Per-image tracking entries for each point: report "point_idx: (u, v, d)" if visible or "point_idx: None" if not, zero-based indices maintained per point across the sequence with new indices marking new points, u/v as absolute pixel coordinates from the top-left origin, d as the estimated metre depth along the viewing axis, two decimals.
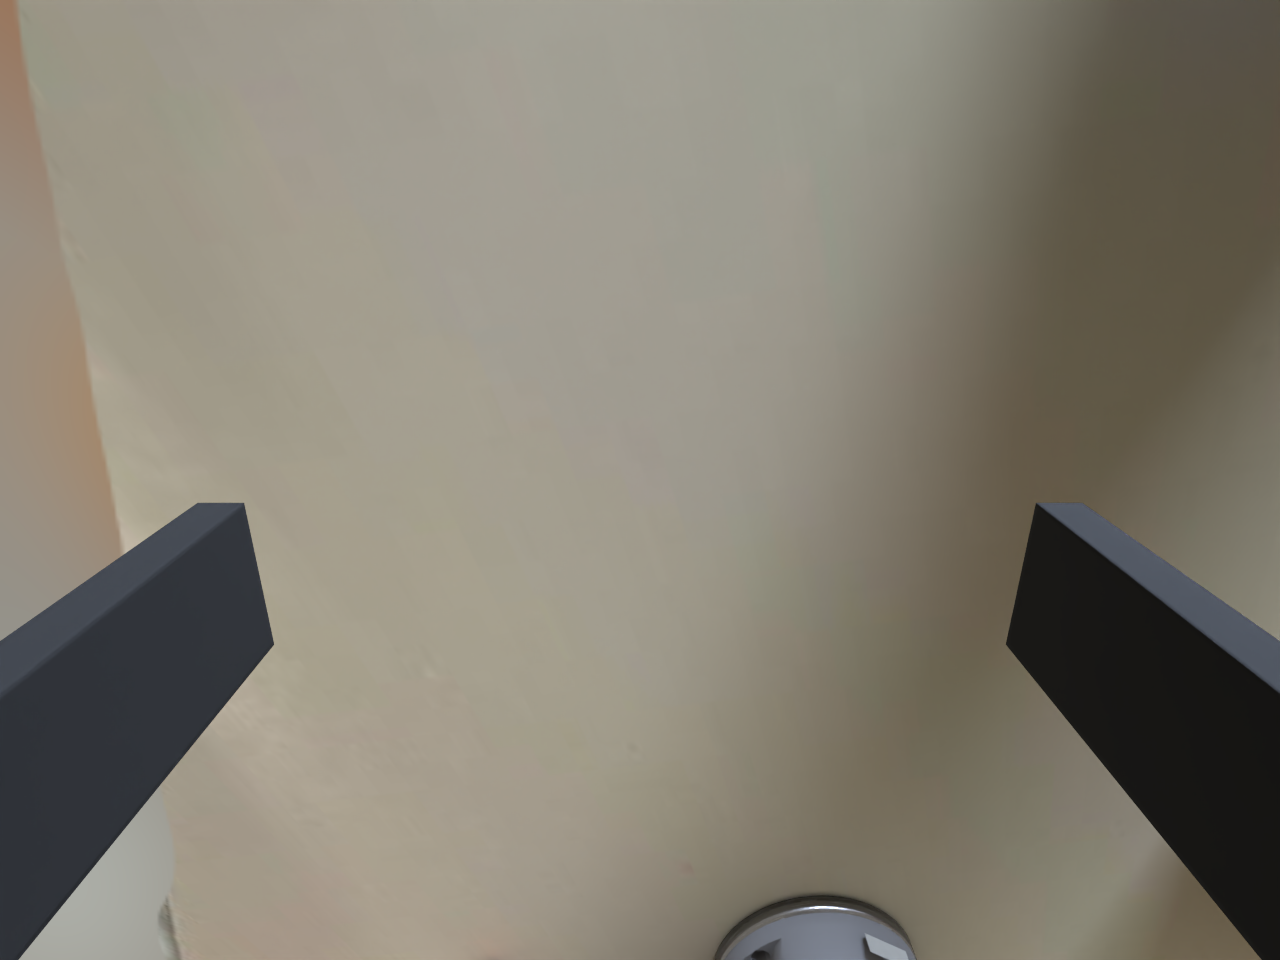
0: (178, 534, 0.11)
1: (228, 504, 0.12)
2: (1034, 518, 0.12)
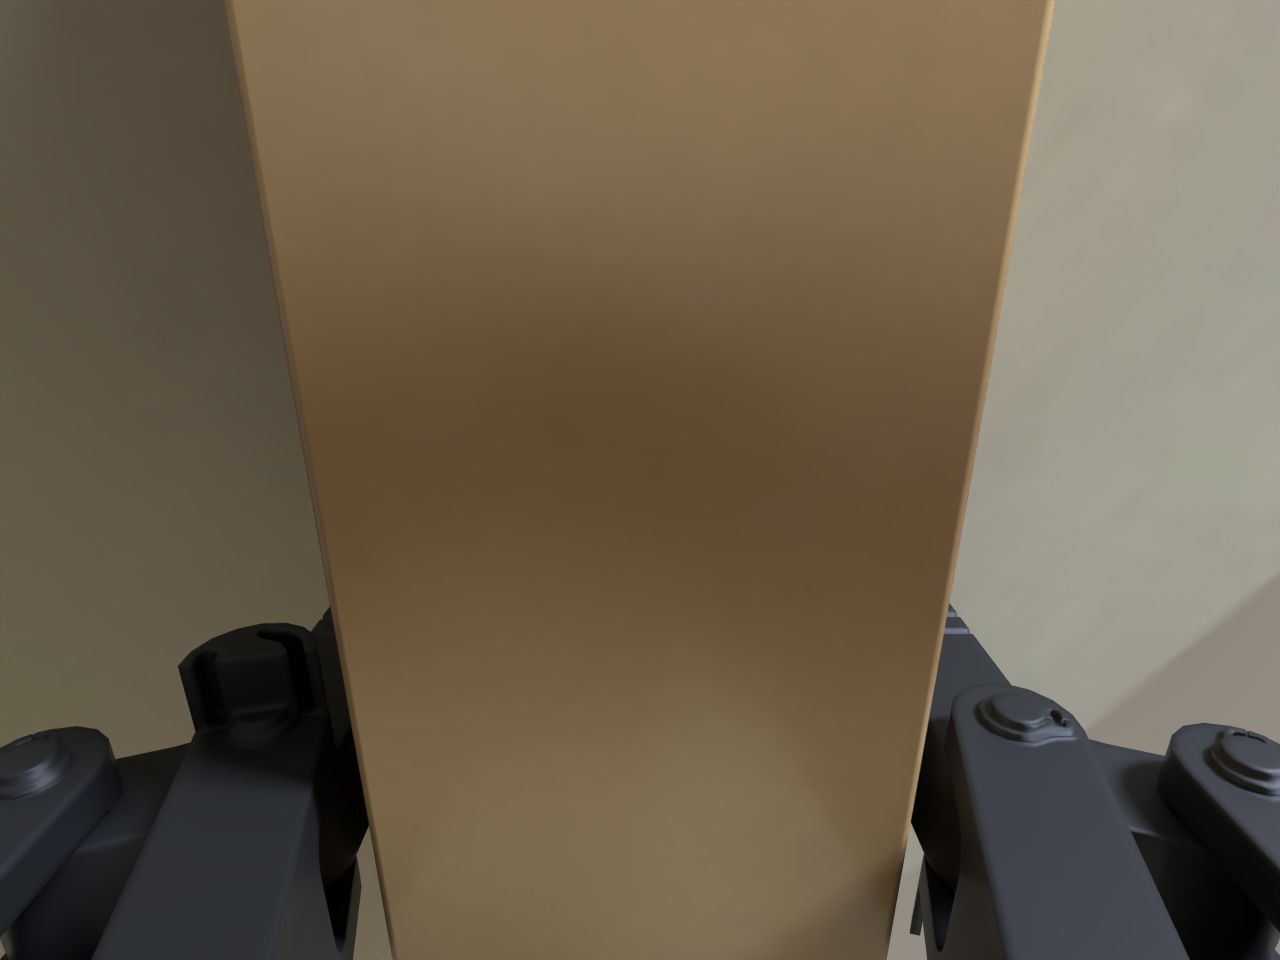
0: None
1: None
2: None
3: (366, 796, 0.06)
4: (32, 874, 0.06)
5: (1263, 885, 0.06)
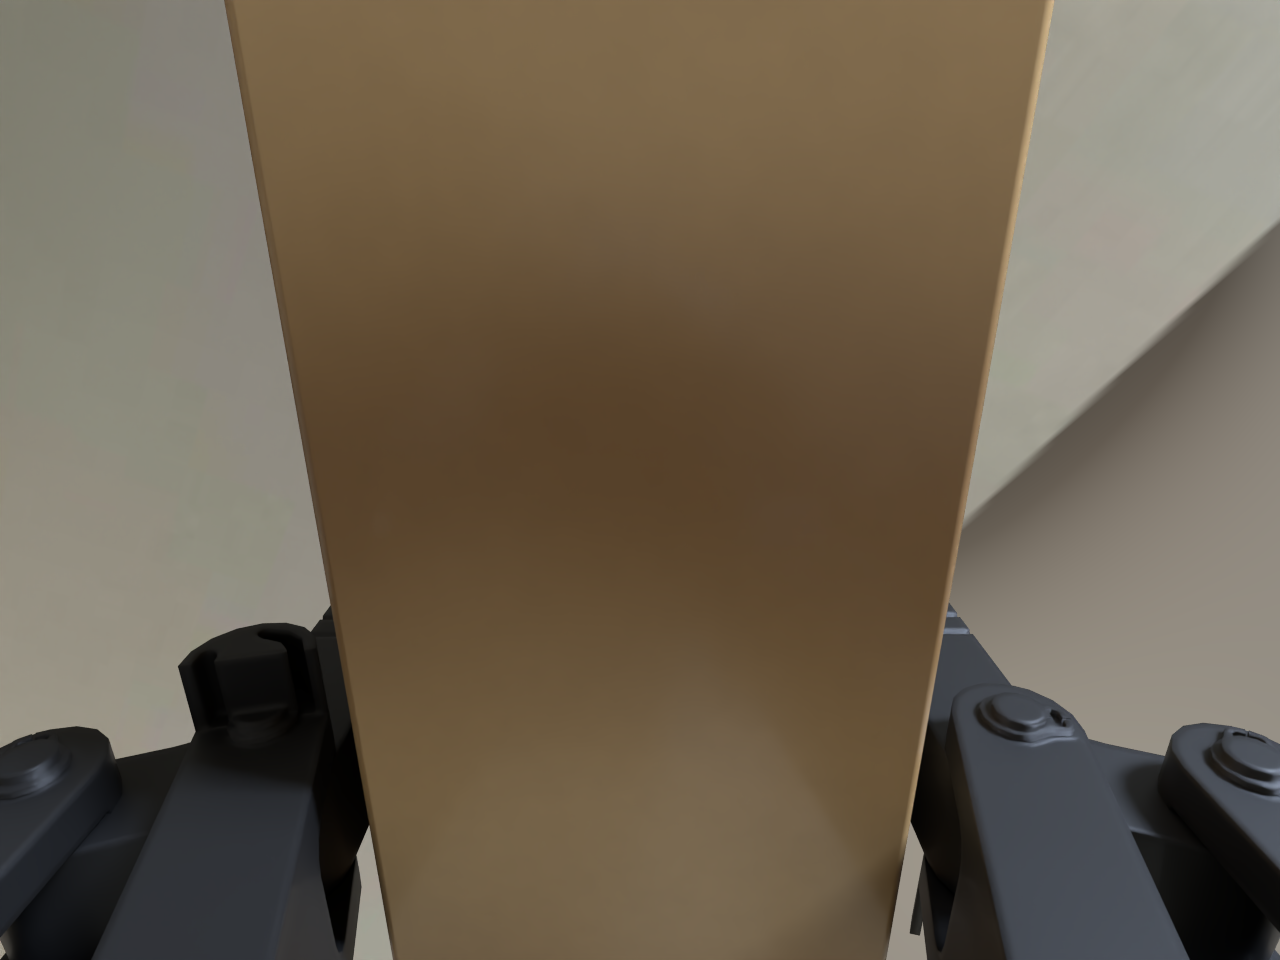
0: None
1: None
2: None
3: (367, 796, 0.06)
4: (32, 874, 0.06)
5: (1262, 885, 0.06)
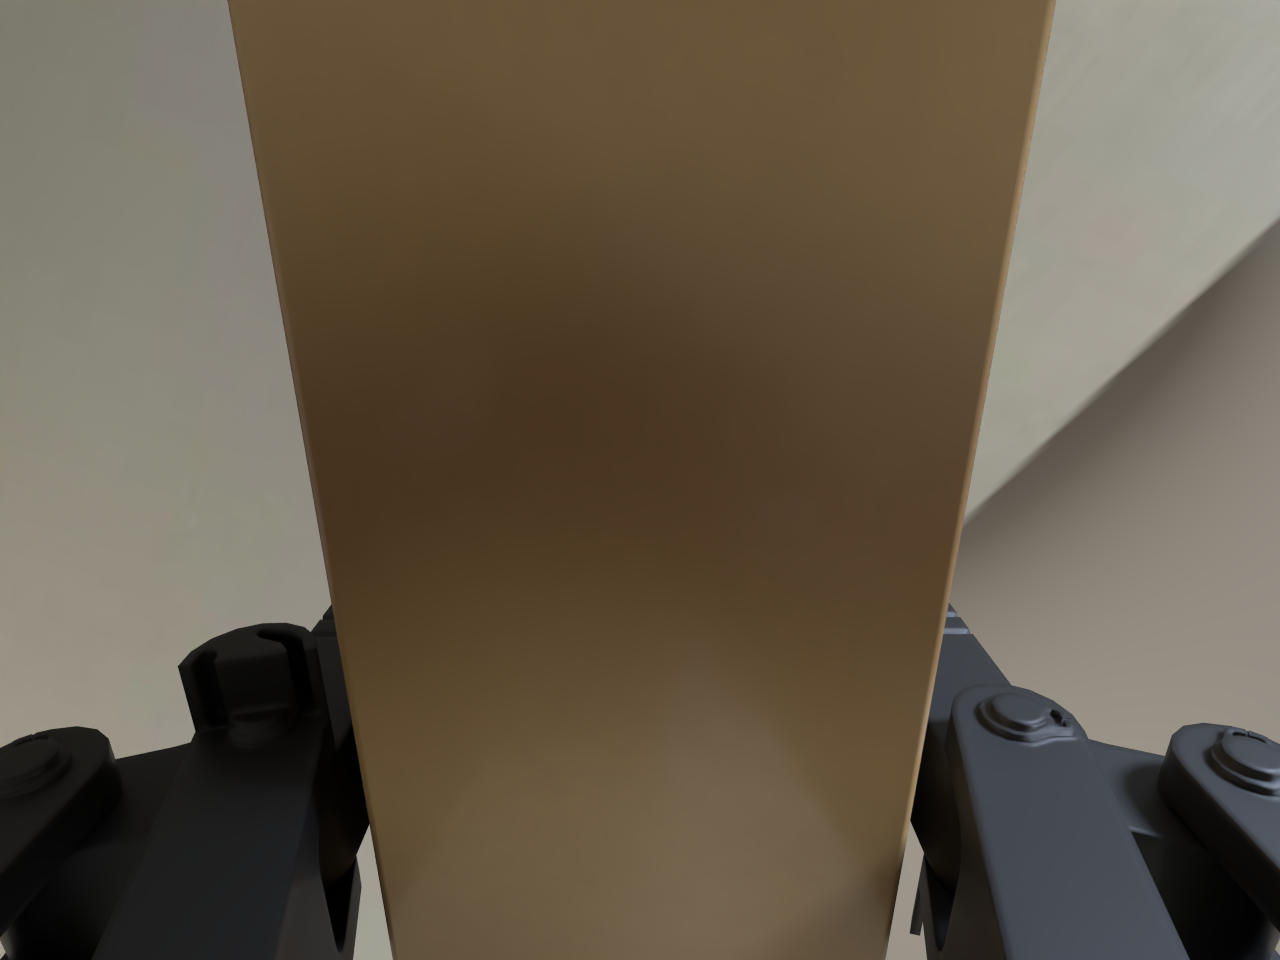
0: None
1: None
2: None
3: (367, 795, 0.06)
4: (32, 874, 0.06)
5: (1263, 885, 0.06)
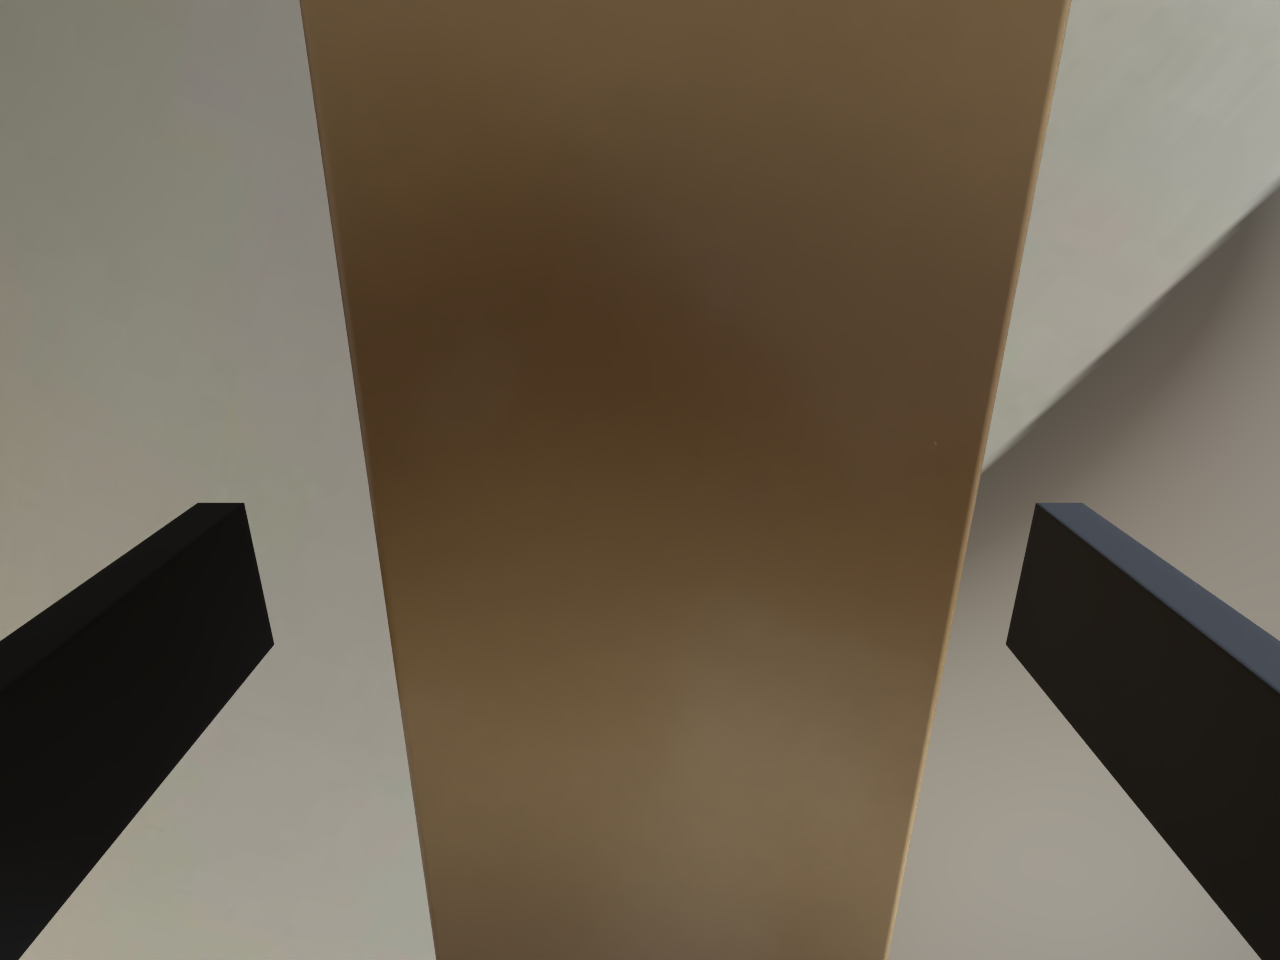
0: (178, 533, 0.11)
1: (228, 504, 0.12)
2: (1034, 518, 0.12)
3: (401, 699, 0.07)
4: None
5: None
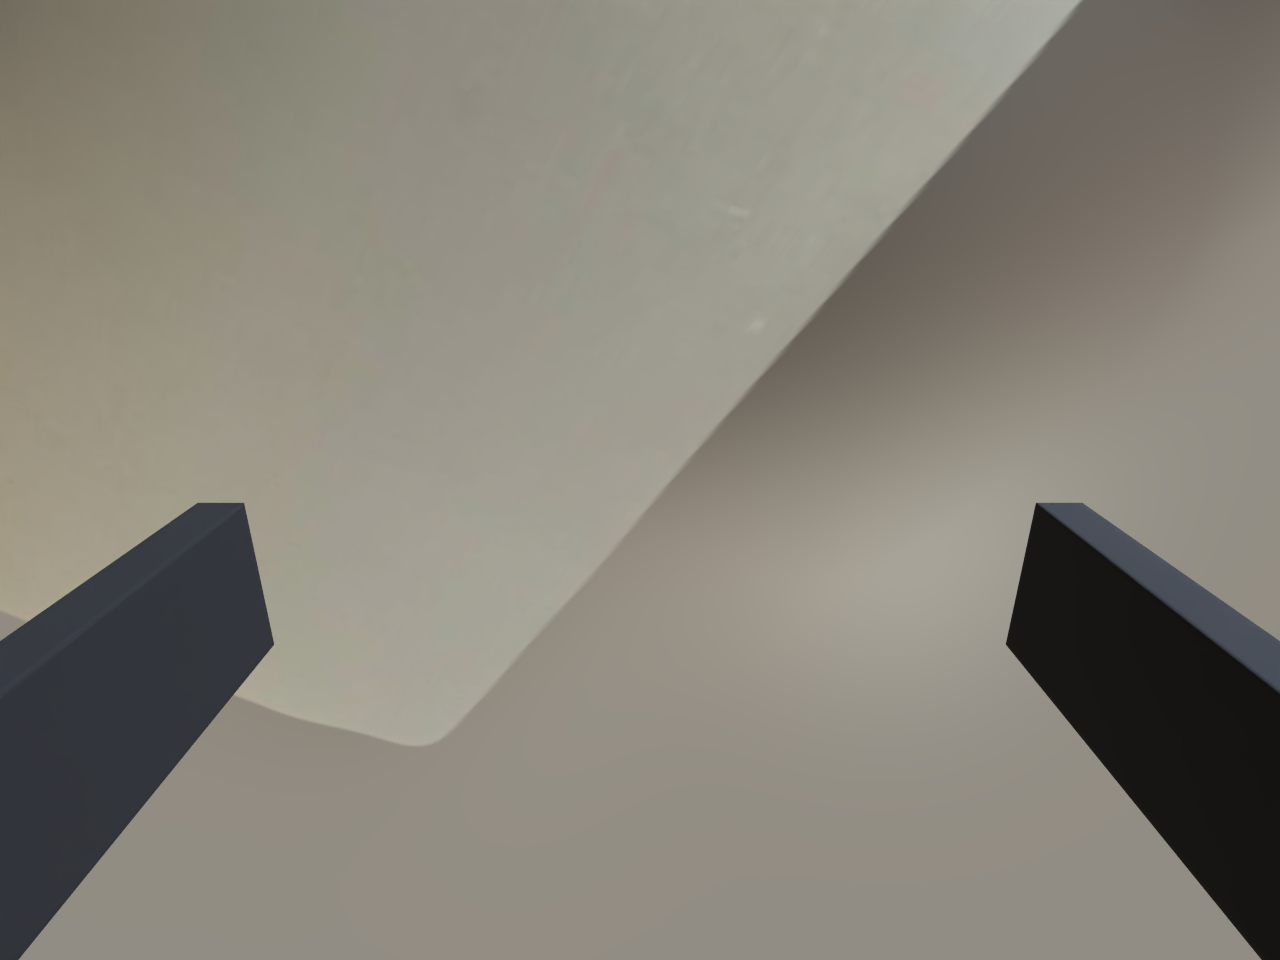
0: (178, 534, 0.11)
1: (228, 504, 0.12)
2: (1034, 518, 0.12)
3: None
4: None
5: None
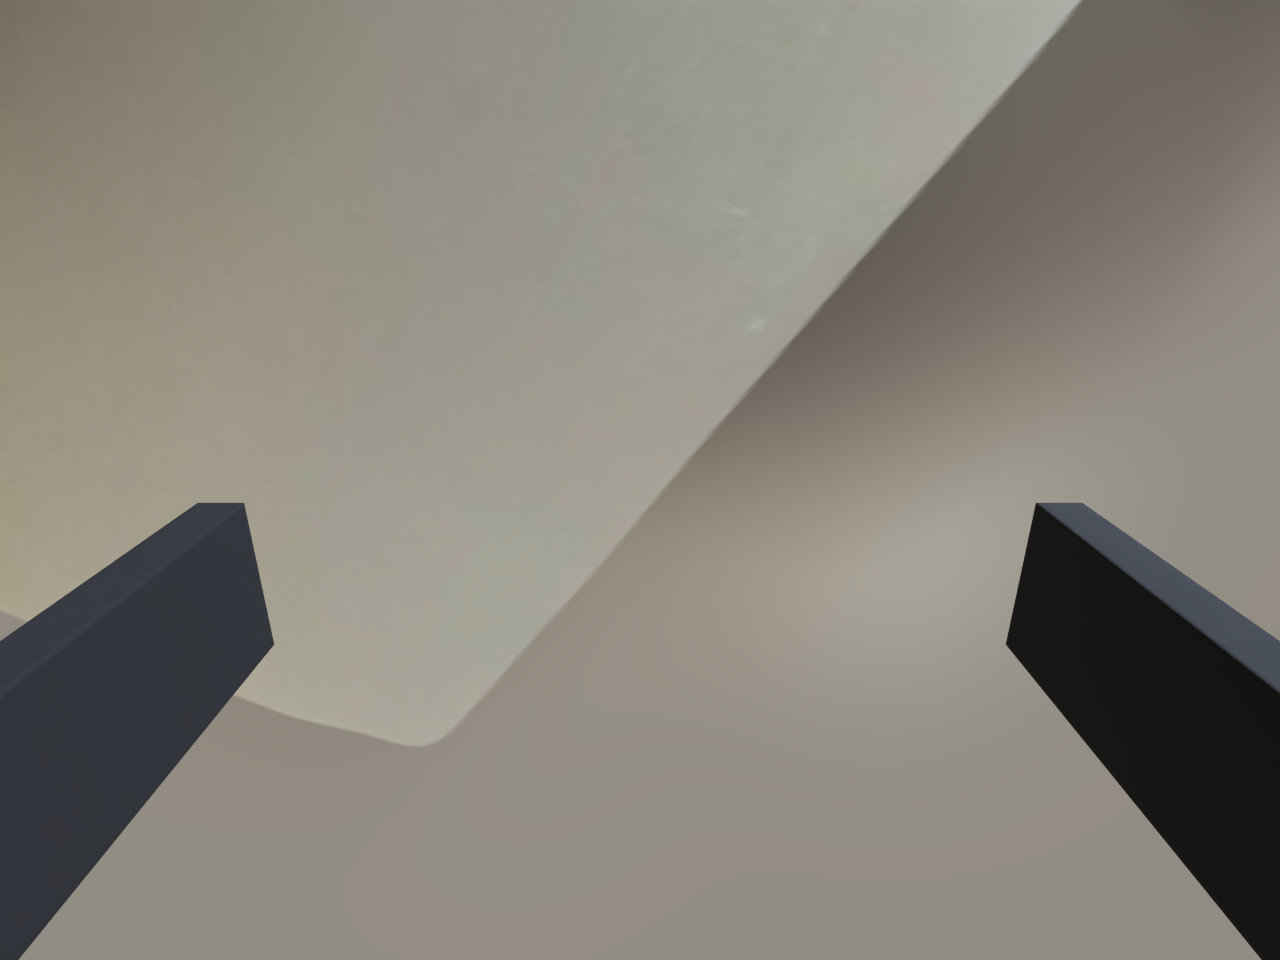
0: (178, 534, 0.11)
1: (228, 504, 0.12)
2: (1034, 518, 0.12)
3: None
4: None
5: None
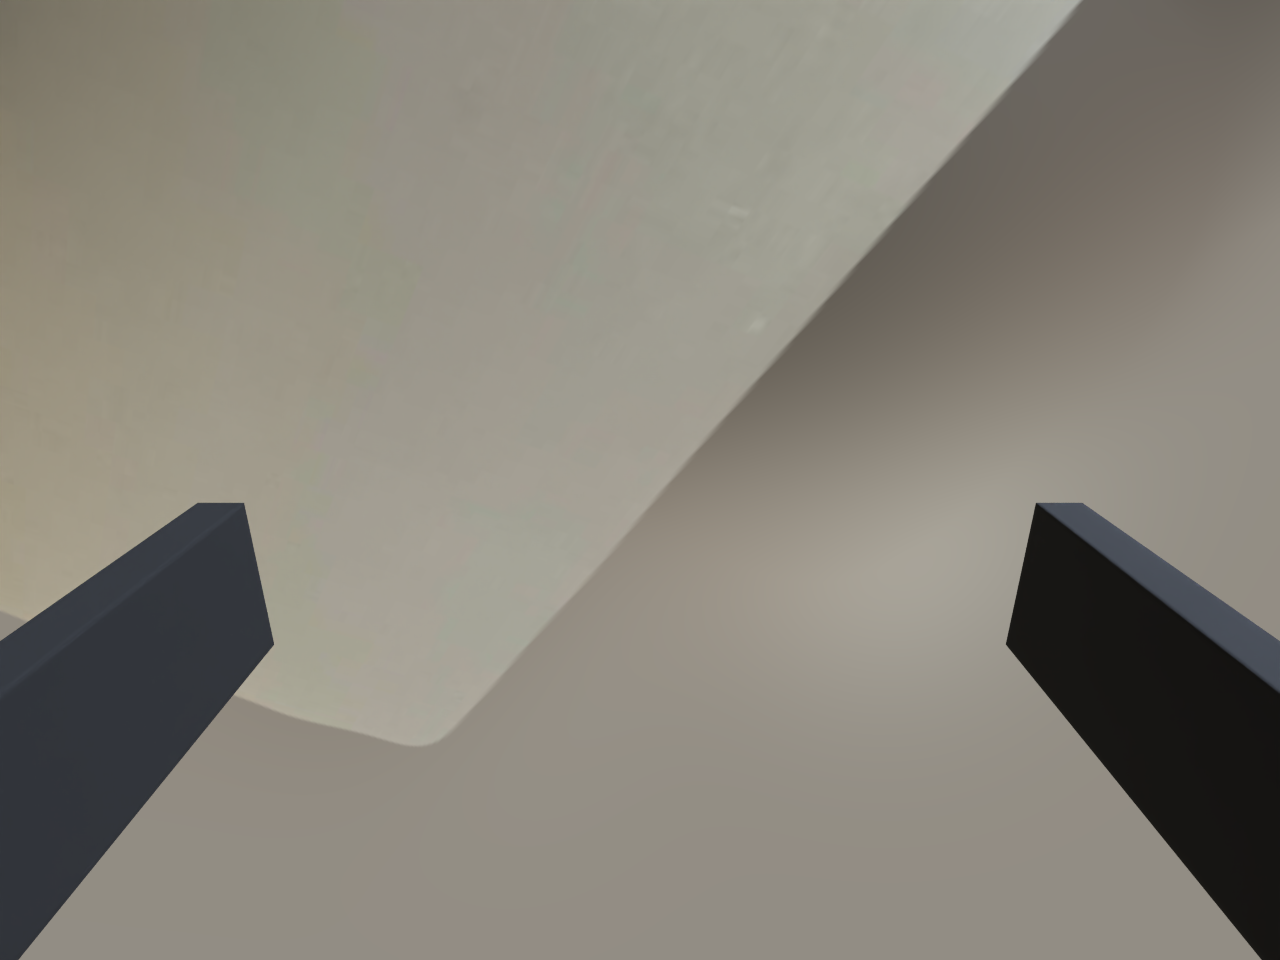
0: (178, 534, 0.11)
1: (228, 504, 0.12)
2: (1034, 518, 0.12)
3: None
4: None
5: None
